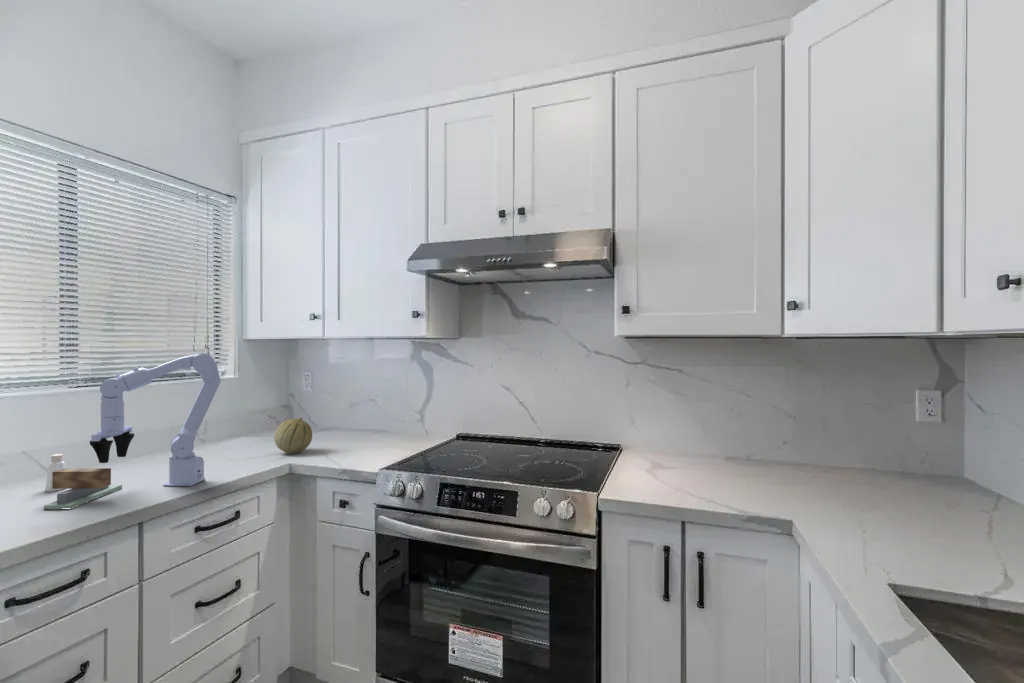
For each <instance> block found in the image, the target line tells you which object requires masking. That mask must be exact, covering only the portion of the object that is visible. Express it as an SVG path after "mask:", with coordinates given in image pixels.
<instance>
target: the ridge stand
mask: <svg viewBox="0 0 1024 683" xmlns="http://www.w3.org/2000/svg"><path fill="white" fill-rule="evenodd" d="M120 488H122V489H123V485H122V484H111V485H109V486H106V487H104V488H74V489H68V490H67V489H66V490H64V491H62V492H59V493H58V492H57V493H56V501H53V502H50V503H47V504H45V505H43V510H44V509H62V508H72V507H75V506H77V505H80V504H82V503H85V502H87V501H90V500H92V499H95V498H97V497H100V496H102V495H105V494H107V493H110V492H112V491H115V490H117V491H119V490H118V489H120ZM120 490H121V489H120ZM115 492H116V491H115ZM112 493H113V492H112ZM110 494H111V493H110ZM107 495H108V494H107ZM105 496H106V495H105ZM102 497H103V496H102ZM100 498H101V497H100ZM97 499H98V498H97ZM95 500H96V499H95ZM92 501H93V500H92ZM90 502H91V501H90ZM87 503H88V502H87ZM85 504H86V503H85ZM82 505H83V504H82ZM80 506H81V505H80ZM77 507H78V506H77ZM75 508H76V507H75Z"/></svg>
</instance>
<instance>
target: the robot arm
mask: <svg viewBox="0 0 1024 683" xmlns="http://www.w3.org/2000/svg"><path fill="white" fill-rule="evenodd" d="M192 368H193V370H195V371H196V372H197V373H198V374H199V376H200V378H201V379H202V381H203V383H202V386H201V388H200V390H199V392H198V394H197V396H196V398H195V400H194V402H193V404H192V406H191V408H190V411H189V413H188V415H187V417H186V419H185V421H184V423H183V425H182V426H181V429H180V431H179V432H178V434H177V435H176V436H175V437H173V439H172V440H171V442H170V452H171V454H170V455H169V456H168V457H169V458H168V482H166V483H163V484H162V486H163V487H185V486H187V487H189V486H194V485H196V484H199V483H200V482H202V481H205V480H206V478H205V460H204V458H203V457H202V456H198V455H196V453H195V452H194V448H195V445H194V442H195V440H196V437H197V434H198V431H199V429H200V427H201V425H202V423H203V421H204V418H205V416H206V414H207V412H208V410H209V409H210V408H209V407H210V406H211V403H212V401H213V399H214V397H215V395H216V392H217V390H218V389H219V386H220V385H221V378H220V373H219V369H218V364H217V362H216V361H215V359H214V358H213V356H212V355H210V354H208V353H206V352H205V353H204V352H198V353H196V354H191V355H185V356H182V357H179V358H176V359H174V360H171V361H168V362H165V363H163V364H160V365H158V366H155V367H153V368H152V367H151V368H150V369H148V368H145V367H140V368H139V367H134V368H133V369H132V370H131V371H128V372H126V373H123V374H120V373H118V374H115V377H113V378H112V377H111V378H107V379H106V380H104V381H103V382H102V383H101V384H100V386H99V392H100V394H101V397H100V400H101V402H100V430H98V431H97V432H96V433H94V434H91V438H90V439H91V440H89V445H90V446H91V447H92V448H93V450H94V452H95V454H96V457H97V459H98V460H97V461H98V462H99V464H107V463H108V462H109V459H110V450H111V447H112V444H113V442H114V444H115V450H116V456H117V458H125V457H126V456H127V454H128V450H129V446H130V444H131V442H132V441H133V439H134V437H135V433H133V426H131V425H129V426H125V402H124V392H129V393H130V392H131V391H134V390H137V389H140V388H142V387H145V386H148V385H150V384H151V383H152V381H153V380H154V378H158V377H161V376H165V375H167V374H170V373H173V372H176V371H178V370H189V371H191V369H192ZM110 438H112V439H111V440H109V439H110Z"/></svg>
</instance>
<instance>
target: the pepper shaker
mask: <svg viewBox="0 0 1024 683" xmlns="http://www.w3.org/2000/svg"><path fill="white" fill-rule="evenodd" d="M63 456H64V455H63V453H56V454H52V455H50V457H51V458H50V459H51V461H50V463H48V468H47V476H46V482H45V488H44V491H46V492H55V491H54V490H58V491H61V490H60V489H52V472H54V471H57V470H60V469H67V468H66V462H65V461H64V460H63V458H64V457H63Z"/></svg>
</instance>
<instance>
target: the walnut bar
mask: <svg viewBox="0 0 1024 683" xmlns="http://www.w3.org/2000/svg"><path fill="white" fill-rule="evenodd" d="M111 480H112V468H108V467H107V468H106V467H101V468H99V467H98V468H97V467H96V468H93V467H92V468H89V467H88V468H66V469H60V470H57V471H54V472H52V489H62V490H67V489H68V490H70V489H74V488H104V487H106V486H109V485H112V481H111Z"/></svg>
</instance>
